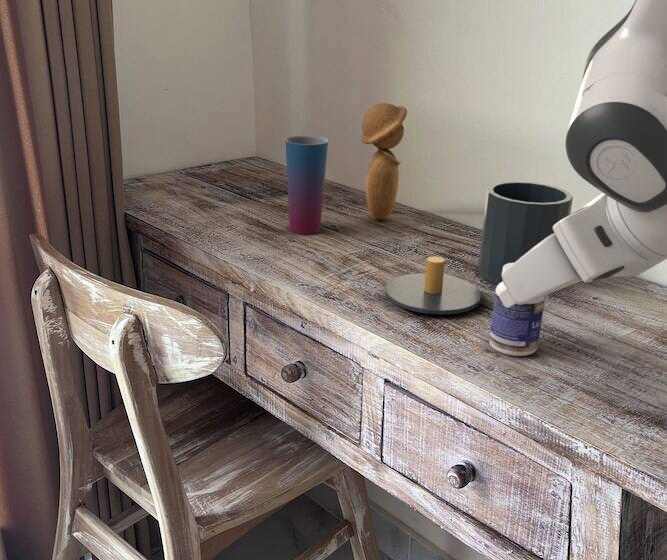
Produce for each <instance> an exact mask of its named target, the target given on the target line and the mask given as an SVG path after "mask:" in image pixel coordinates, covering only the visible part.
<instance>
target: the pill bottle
mask: <svg viewBox="0 0 667 560" xmlns="http://www.w3.org/2000/svg"><path fill="white" fill-rule="evenodd" d="M512 264H514V263H508V264H505V265H504V266H503V270H502V277H503V274H504V273H505V271H506V270H507V269H508V268H509V267H510V266H511V265H512ZM506 289H507V288H506V286H505V285H504V283H503V282H501V283H500V284H499V285H496V288H495V293H494V300H493V301H494V302H493V308H492V317H491V322H490V331H489V339H488V342H489V345H490V346H491V348H492V349H494V350H495V351H496V352H499V353H501V354H504V355H507V356H514V357H523V356H524V357H526V356H530V355H532V354H534V353H535V352H536V351H537V350H538V349H539V348H538V347H539V341H540V335H541V328H542V323H543V322H542V321H543V316H544V309H545V301H546V295H545V296H543V297H540V298H538V299H536V300H533V301H531V302H528V303H526V304H523V305H517V304H516V305H514V306H511V307H509V308H506V307H505V306H504V305H503V303H502V301H501V300H500V298H499V295H500V293H501V292H503V291H504V290H506Z"/></svg>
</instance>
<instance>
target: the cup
mask: <svg viewBox="0 0 667 560" xmlns="http://www.w3.org/2000/svg"><path fill="white" fill-rule="evenodd" d="M284 141H285V162H286V176H287V177H286V182H287V183H286V184H287V201H288V223H289V231H290V232H291V233H293V234H297V235H303V236H304V235H305V236H306V235H307V236H308V235H314V234H317V233H319V232H320V231H321V222H322V212H323V203H324V202H323V201H324V191H325V182H326V181H325V180H326V169H327V159H328V149H329V139H328V138H326V137H322V136H317V135H302V134H301V135H291V136H288V137H286V138H285V140H284Z"/></svg>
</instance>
